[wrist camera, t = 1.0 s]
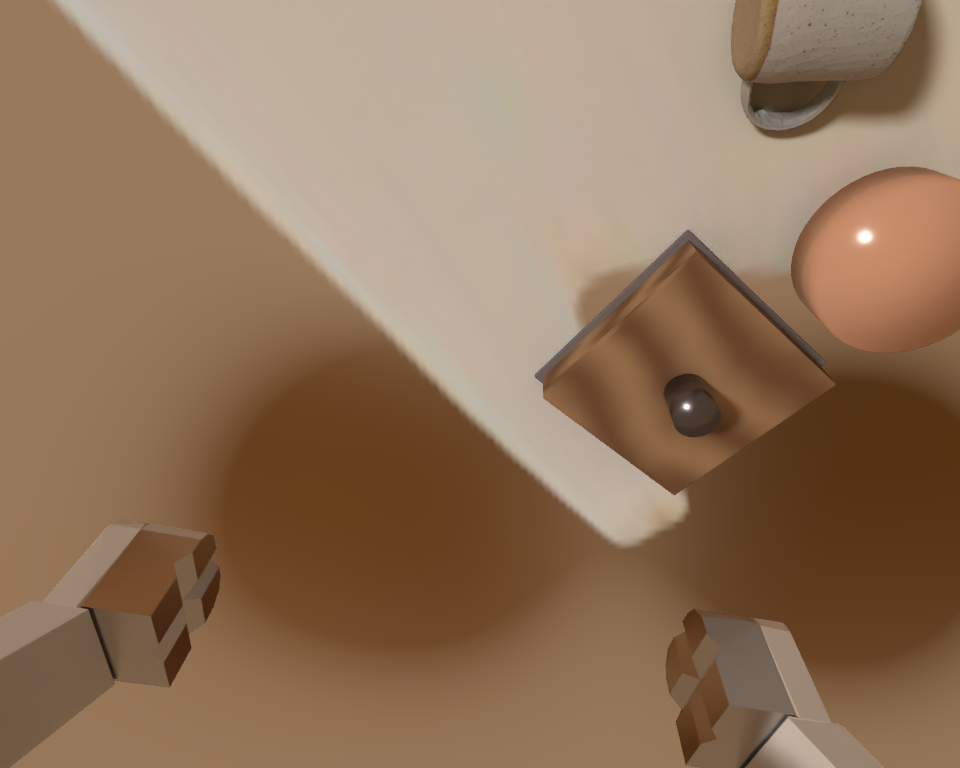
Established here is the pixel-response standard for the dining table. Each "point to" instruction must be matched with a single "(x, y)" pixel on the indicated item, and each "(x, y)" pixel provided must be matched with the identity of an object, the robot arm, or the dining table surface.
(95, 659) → the robot arm
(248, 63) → the dining table surface
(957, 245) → the bowl
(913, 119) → the dining table surface
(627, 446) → the lid
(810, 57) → the ceramic mug
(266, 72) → the dining table surface
